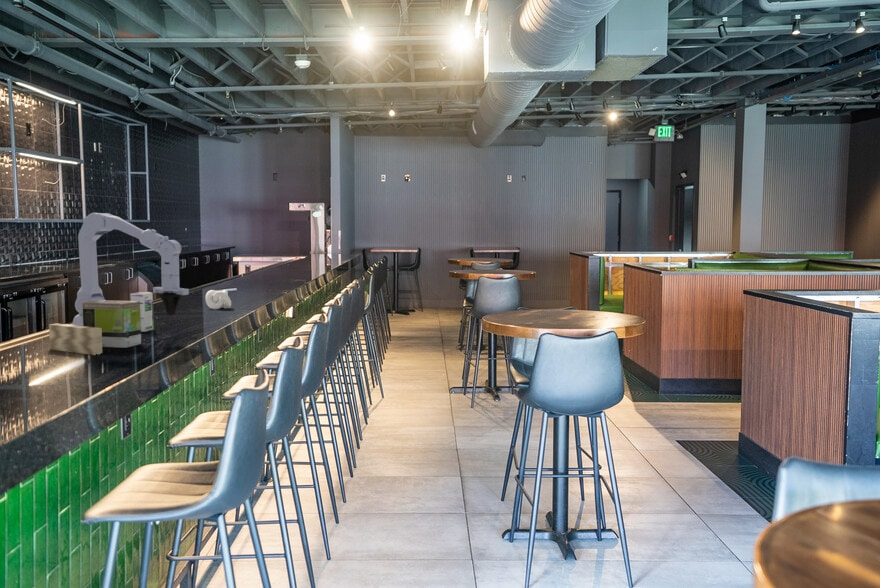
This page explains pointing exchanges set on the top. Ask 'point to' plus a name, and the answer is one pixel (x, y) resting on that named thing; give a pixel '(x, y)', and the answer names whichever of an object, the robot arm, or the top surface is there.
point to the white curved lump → (218, 299)
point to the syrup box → (145, 309)
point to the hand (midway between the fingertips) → (171, 314)
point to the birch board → (75, 338)
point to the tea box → (114, 321)
